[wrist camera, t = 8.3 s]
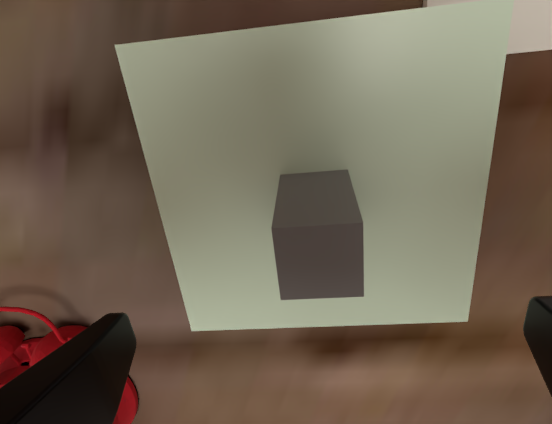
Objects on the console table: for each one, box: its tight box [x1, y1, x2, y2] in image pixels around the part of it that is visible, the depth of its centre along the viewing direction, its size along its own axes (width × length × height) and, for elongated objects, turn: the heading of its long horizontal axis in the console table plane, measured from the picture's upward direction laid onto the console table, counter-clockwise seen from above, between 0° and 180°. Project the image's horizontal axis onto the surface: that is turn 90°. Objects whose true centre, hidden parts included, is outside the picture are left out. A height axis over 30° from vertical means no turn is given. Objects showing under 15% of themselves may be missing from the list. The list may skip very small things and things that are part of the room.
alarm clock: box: [0, 307, 138, 424], centre depth 26 cm, size 10×6×15 cm
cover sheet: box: [115, 0, 514, 331], centre depth 13 cm, size 12×12×5 cm
